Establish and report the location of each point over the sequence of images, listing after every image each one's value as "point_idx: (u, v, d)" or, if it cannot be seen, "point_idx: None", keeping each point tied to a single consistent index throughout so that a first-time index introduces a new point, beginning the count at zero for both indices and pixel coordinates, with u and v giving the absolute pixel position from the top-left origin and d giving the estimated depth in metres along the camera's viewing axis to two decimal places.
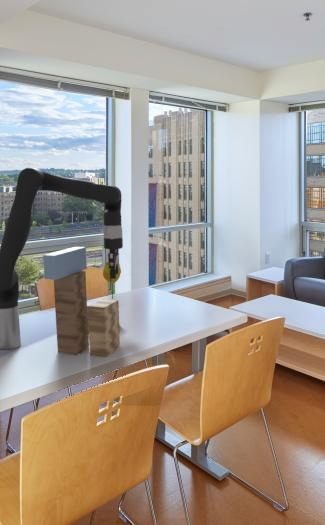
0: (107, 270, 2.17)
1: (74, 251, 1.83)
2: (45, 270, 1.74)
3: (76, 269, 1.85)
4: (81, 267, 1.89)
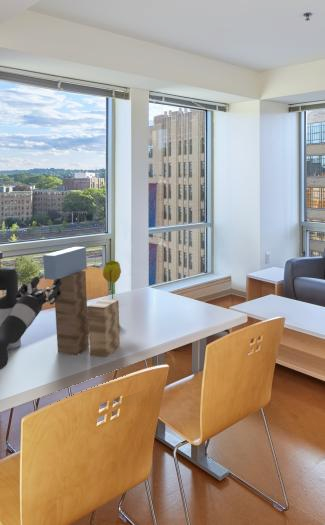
0: (107, 270, 2.17)
1: (74, 251, 1.83)
2: (45, 270, 1.74)
3: (76, 269, 1.85)
4: (81, 267, 1.89)
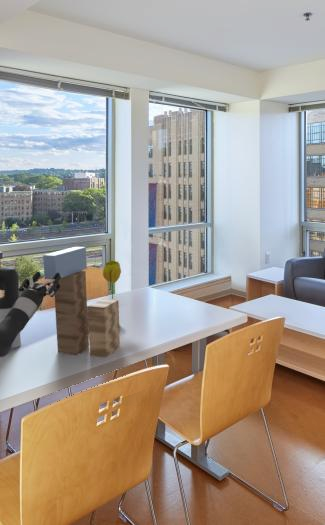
0: (107, 270, 2.17)
1: (74, 251, 1.83)
2: (45, 270, 1.74)
3: (76, 269, 1.85)
4: (81, 267, 1.89)
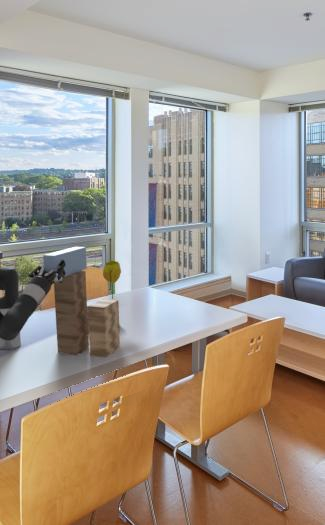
0: (107, 270, 2.17)
1: (74, 251, 1.83)
2: (45, 270, 1.74)
3: (76, 269, 1.85)
4: (81, 267, 1.89)
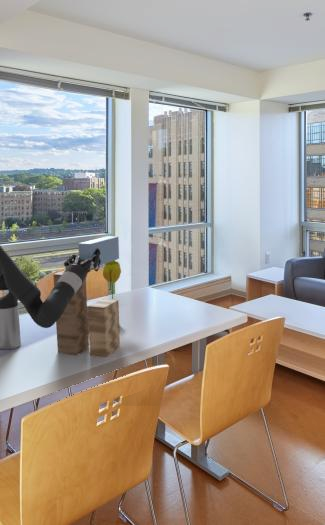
0: (107, 270, 2.17)
1: (108, 240, 1.82)
2: (80, 258, 1.72)
3: (109, 259, 1.84)
4: (114, 257, 1.87)
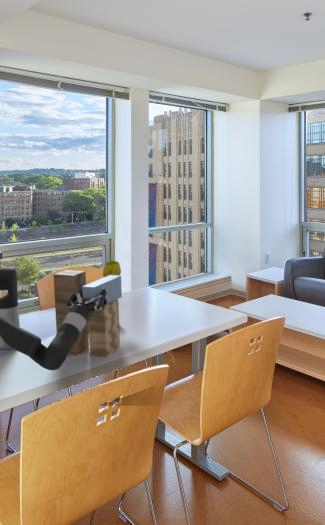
0: (107, 270, 2.17)
1: (111, 281, 1.85)
2: None
3: (112, 299, 1.87)
4: (117, 296, 1.91)
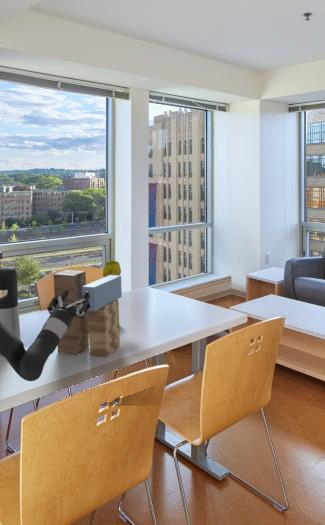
0: (107, 270, 2.17)
1: (111, 281, 1.85)
2: None
3: (112, 299, 1.87)
4: (117, 296, 1.91)
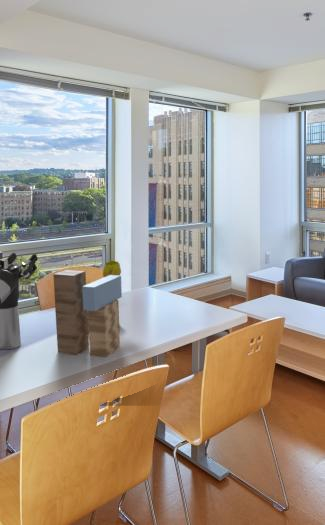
0: (107, 270, 2.17)
1: (111, 281, 1.85)
2: (84, 301, 1.75)
3: (112, 299, 1.87)
4: (117, 296, 1.91)
